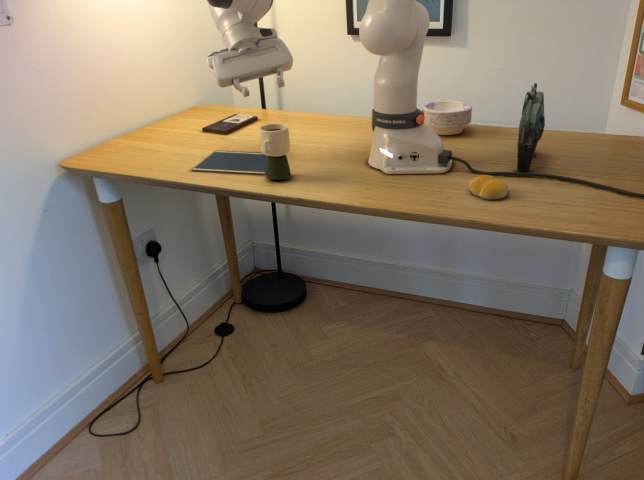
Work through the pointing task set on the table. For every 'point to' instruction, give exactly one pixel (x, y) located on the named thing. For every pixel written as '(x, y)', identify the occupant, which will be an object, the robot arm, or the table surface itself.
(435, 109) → the paper bowls
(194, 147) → the table surface
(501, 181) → the bread roll
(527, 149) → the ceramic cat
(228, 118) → the chocolate bar
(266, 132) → the character mug
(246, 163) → the napkin
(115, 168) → the table surface
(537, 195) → the table surface
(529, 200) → the table surface
